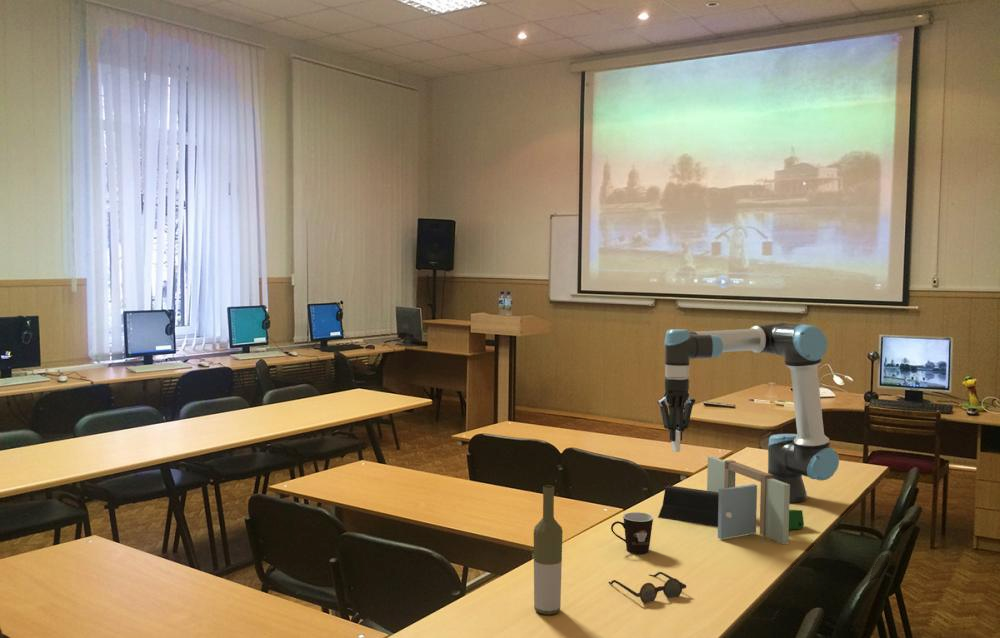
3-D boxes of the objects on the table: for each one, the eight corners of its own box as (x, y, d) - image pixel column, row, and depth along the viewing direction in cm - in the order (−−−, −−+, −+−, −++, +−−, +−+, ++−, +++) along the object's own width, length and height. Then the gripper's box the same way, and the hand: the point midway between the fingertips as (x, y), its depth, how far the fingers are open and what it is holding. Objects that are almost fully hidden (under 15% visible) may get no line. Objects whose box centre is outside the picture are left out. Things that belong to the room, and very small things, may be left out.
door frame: (712, 507, 263) (713, 453, 262) (789, 543, 228) (790, 481, 227) (705, 508, 262) (706, 454, 261) (781, 544, 227) (783, 482, 226)
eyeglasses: (637, 606, 184) (637, 586, 184) (604, 584, 198) (605, 565, 197) (686, 597, 190) (686, 577, 190) (651, 575, 204) (652, 557, 203)
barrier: (735, 522, 248) (736, 492, 248) (730, 530, 241) (730, 499, 240) (664, 511, 259) (665, 482, 259) (657, 518, 252) (658, 488, 251)
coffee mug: (654, 547, 224) (655, 514, 223) (650, 557, 216) (651, 522, 215) (615, 542, 228) (615, 509, 227) (610, 552, 219) (610, 518, 219)
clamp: (789, 538, 245) (795, 511, 247) (800, 540, 239) (806, 512, 242) (756, 525, 244) (764, 498, 246) (767, 527, 238) (774, 499, 240)
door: (752, 531, 237) (753, 484, 236) (759, 534, 234) (760, 486, 233) (717, 537, 231) (718, 489, 230) (724, 540, 228) (725, 491, 227)
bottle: (528, 614, 179) (529, 489, 177) (537, 602, 185) (539, 481, 184) (557, 619, 176) (558, 492, 175) (565, 607, 183) (566, 484, 181)
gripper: (687, 375, 247) (686, 447, 248) (652, 377, 243) (651, 449, 244) (701, 378, 240) (699, 451, 241) (665, 380, 236) (664, 455, 237)
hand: (675, 450), depth 243 cm, fingers closed
